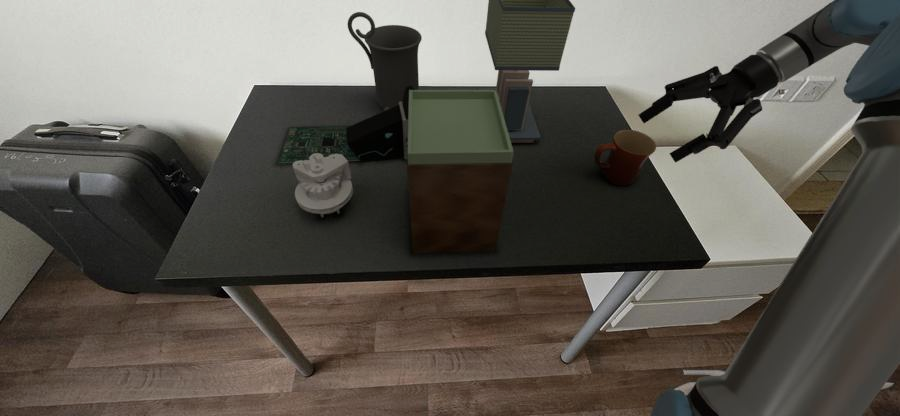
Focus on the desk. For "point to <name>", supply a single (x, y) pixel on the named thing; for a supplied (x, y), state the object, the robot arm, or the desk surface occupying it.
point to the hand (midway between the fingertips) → (655, 137)
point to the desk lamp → (525, 54)
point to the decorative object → (382, 133)
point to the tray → (457, 128)
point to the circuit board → (316, 143)
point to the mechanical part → (323, 183)
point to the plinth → (456, 205)
